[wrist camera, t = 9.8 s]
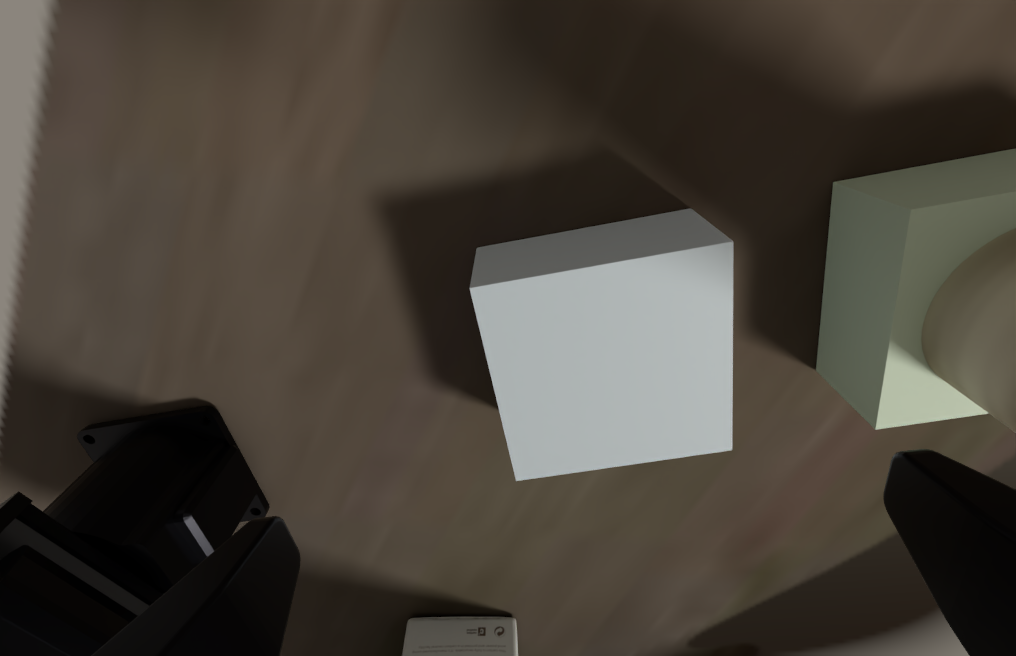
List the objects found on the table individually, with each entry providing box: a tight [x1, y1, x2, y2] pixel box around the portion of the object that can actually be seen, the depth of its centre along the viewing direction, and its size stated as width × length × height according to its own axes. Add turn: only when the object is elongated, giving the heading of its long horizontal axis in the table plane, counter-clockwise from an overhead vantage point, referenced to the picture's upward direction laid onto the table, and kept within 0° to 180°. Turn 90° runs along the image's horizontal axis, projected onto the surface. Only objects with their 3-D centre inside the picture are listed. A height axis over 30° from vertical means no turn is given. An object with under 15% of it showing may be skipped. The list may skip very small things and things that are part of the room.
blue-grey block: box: [470, 208, 733, 481], centre depth 19 cm, size 8×8×4 cm
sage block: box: [816, 148, 1016, 430], centre depth 18 cm, size 8×8×4 cm
